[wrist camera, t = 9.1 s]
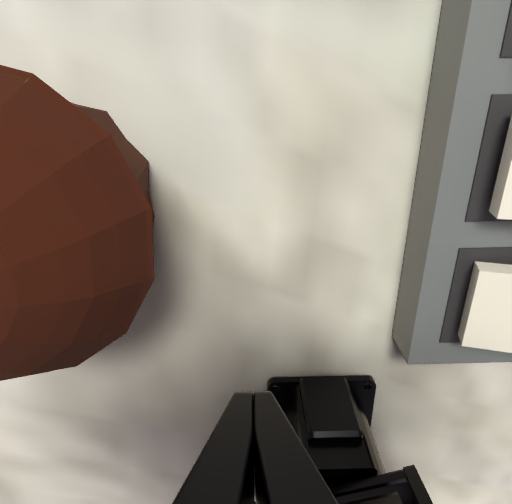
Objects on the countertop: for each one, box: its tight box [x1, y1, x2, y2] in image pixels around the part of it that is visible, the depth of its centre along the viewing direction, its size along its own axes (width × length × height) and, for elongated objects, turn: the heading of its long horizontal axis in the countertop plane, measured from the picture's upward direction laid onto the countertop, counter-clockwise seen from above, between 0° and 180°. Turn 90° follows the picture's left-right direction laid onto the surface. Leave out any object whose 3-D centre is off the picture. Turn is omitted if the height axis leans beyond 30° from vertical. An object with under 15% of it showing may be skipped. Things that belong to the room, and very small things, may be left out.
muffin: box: [0, 65, 154, 381], centre depth 15 cm, size 12×11×10 cm
